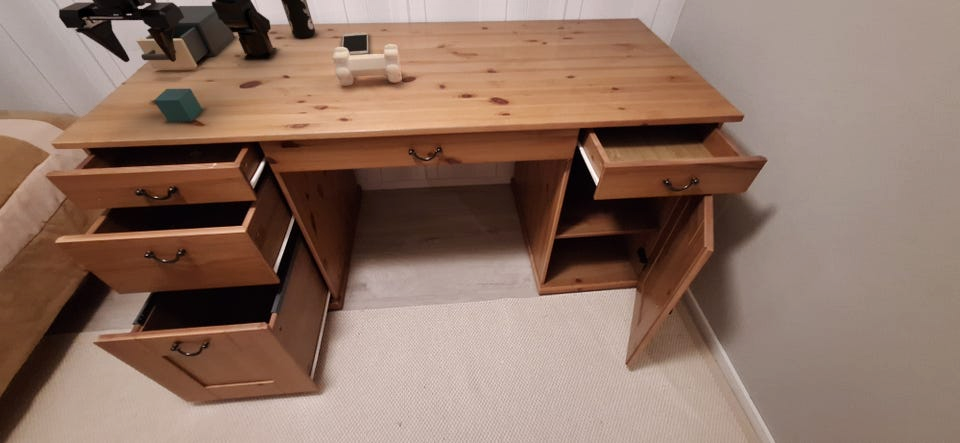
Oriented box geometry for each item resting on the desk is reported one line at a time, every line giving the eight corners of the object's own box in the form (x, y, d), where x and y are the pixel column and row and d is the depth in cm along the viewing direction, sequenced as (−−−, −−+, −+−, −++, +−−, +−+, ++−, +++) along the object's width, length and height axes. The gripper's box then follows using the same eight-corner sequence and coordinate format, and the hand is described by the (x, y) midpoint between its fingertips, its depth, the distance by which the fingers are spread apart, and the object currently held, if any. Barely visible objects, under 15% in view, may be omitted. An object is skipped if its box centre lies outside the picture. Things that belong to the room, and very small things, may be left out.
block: (202, 109, 84) (190, 88, 80) (191, 121, 80) (178, 100, 77) (179, 110, 84) (166, 88, 80) (167, 122, 80) (153, 100, 77)
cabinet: (215, 56, 103) (198, 22, 97) (171, 56, 103) (152, 23, 97) (235, 37, 113) (221, 5, 107) (195, 37, 112) (179, 5, 106)
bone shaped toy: (402, 71, 98) (397, 39, 92) (402, 87, 92) (397, 53, 86) (342, 75, 96) (333, 42, 90) (339, 91, 90) (329, 57, 84)
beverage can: (309, 40, 112) (295, -6, 103) (289, 38, 113) (273, -8, 104) (320, 32, 116) (307, -13, 107) (300, 30, 117) (286, -14, 108)
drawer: (187, 75, 94) (171, 47, 89) (144, 75, 93) (125, 47, 88) (216, 48, 105) (203, 21, 100) (178, 48, 105) (163, 22, 100)
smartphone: (368, 35, 114) (367, 31, 114) (368, 55, 104) (367, 52, 103) (344, 36, 113) (343, 33, 113) (341, 58, 103) (341, 54, 102)
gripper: (175, -40, 71) (216, 45, 82) (73, -41, 71) (128, 45, 82) (140, -25, 63) (190, 67, 74) (25, -25, 63) (93, 68, 74)
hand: (150, 61), depth 76 cm, fingers open, 9 cm apart
